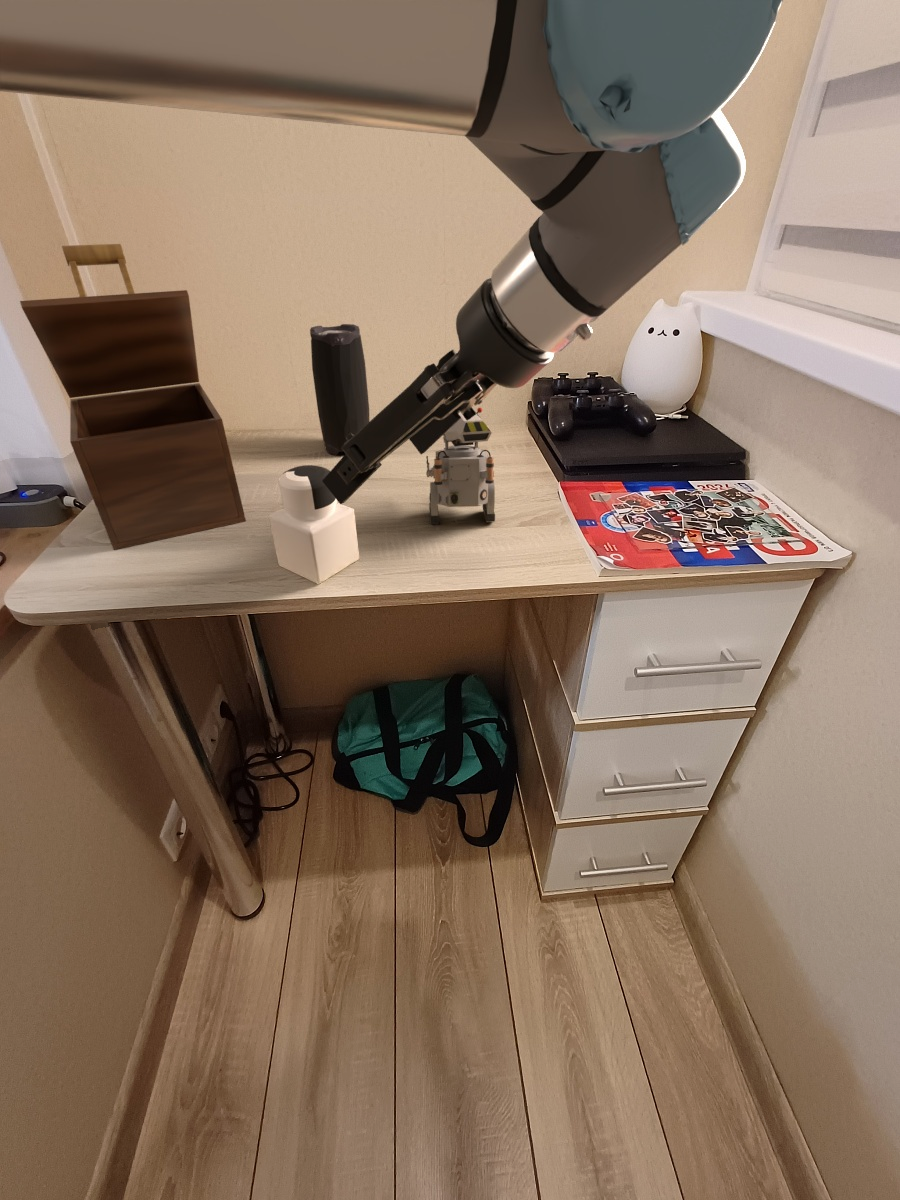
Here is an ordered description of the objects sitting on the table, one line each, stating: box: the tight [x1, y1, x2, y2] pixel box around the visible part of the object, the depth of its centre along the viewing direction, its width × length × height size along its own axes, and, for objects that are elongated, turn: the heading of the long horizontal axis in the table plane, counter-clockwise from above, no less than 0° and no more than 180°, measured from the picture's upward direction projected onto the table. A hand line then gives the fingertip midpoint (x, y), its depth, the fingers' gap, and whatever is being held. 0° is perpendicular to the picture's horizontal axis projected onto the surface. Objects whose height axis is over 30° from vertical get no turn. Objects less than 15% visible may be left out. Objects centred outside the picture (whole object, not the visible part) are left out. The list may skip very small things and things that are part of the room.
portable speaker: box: [309, 323, 370, 456], centre depth 95 cm, size 9×9×20 cm
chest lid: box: [19, 243, 200, 399], centre depth 72 cm, size 18×17×9 cm
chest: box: [69, 382, 247, 551], centre depth 78 cm, size 18×17×14 cm
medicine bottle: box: [268, 464, 360, 585], centre depth 67 cm, size 7×7×12 cm
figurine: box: [425, 407, 496, 525], centre depth 77 cm, size 9×12×15 cm
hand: (377, 465), depth 58 cm, fingers open, 13 cm apart
